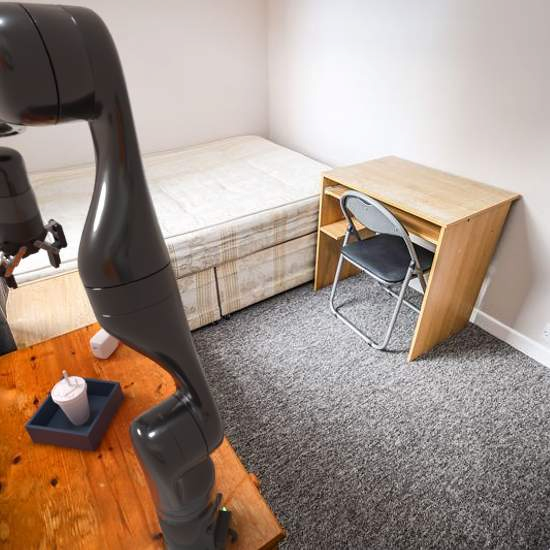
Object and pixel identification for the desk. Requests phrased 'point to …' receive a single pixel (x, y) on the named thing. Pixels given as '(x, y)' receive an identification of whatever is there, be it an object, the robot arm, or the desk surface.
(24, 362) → the desk surface
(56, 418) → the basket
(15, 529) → the desk surface
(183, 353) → the robot arm
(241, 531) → the desk surface
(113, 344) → the power adapter
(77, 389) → the smoothie
